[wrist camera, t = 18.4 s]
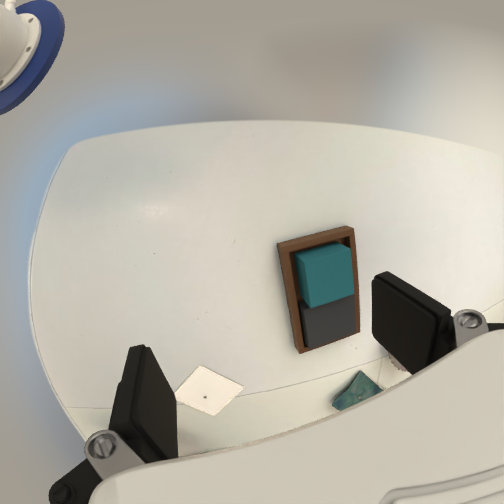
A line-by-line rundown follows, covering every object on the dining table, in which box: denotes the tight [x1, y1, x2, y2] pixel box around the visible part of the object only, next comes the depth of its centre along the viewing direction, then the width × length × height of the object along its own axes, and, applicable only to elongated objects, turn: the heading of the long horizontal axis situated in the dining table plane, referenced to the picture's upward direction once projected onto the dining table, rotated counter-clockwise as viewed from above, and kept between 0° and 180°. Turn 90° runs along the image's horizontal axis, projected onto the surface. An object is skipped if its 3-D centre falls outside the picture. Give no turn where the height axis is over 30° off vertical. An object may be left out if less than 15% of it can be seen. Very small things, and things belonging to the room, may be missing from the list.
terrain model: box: [332, 371, 383, 411], centre depth 45 cm, size 13×8×2 cm, turn 44°
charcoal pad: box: [298, 294, 356, 349], centre depth 37 cm, size 6×7×2 cm
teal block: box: [294, 242, 354, 308], centre depth 34 cm, size 6×6×4 cm
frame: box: [277, 226, 360, 354], centre depth 36 cm, size 16×10×2 cm, turn 12°
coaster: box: [174, 365, 244, 416], centre depth 38 cm, size 8×8×1 cm
